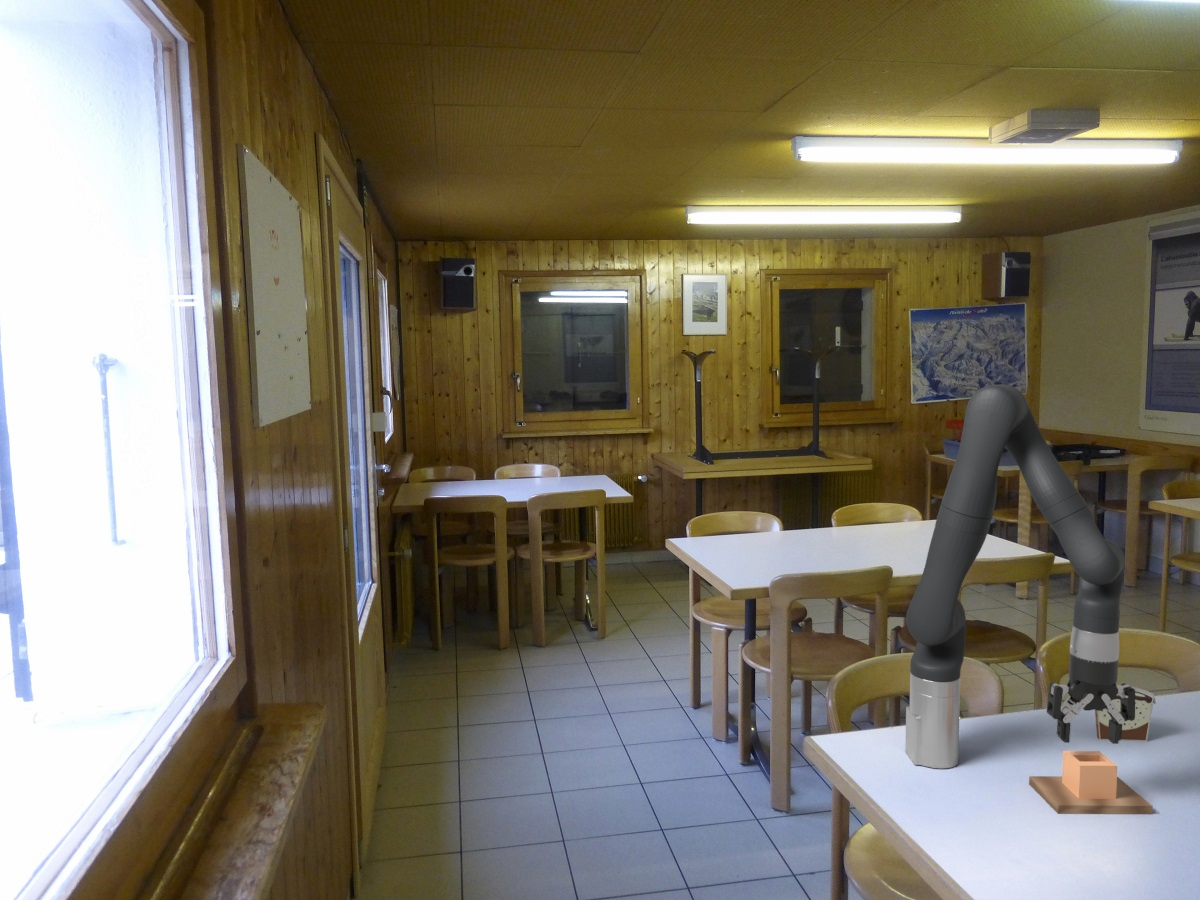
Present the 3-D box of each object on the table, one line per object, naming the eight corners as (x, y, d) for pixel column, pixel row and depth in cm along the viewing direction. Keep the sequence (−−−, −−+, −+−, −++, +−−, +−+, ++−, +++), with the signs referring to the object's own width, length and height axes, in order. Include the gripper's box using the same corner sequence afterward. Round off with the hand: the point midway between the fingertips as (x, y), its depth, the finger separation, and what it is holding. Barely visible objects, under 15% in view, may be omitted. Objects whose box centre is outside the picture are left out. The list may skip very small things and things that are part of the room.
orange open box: (1078, 798, 153) (1080, 765, 153) (1062, 782, 159) (1063, 750, 159) (1116, 798, 153) (1117, 765, 153) (1097, 782, 159) (1099, 751, 159)
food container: (1139, 729, 186) (1141, 684, 185) (1154, 741, 180) (1156, 694, 179) (1078, 728, 187) (1080, 682, 186) (1091, 740, 181) (1093, 693, 180)
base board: (1057, 813, 151) (1059, 777, 151) (1029, 784, 162) (1030, 750, 162) (1152, 814, 151) (1153, 777, 150) (1116, 784, 162) (1118, 750, 161)
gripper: (1063, 659, 151) (1058, 750, 152) (1147, 660, 150) (1141, 751, 152) (1043, 645, 158) (1038, 732, 160) (1123, 646, 158) (1117, 733, 159)
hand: (1088, 741), depth 156 cm, fingers open, 8 cm apart
